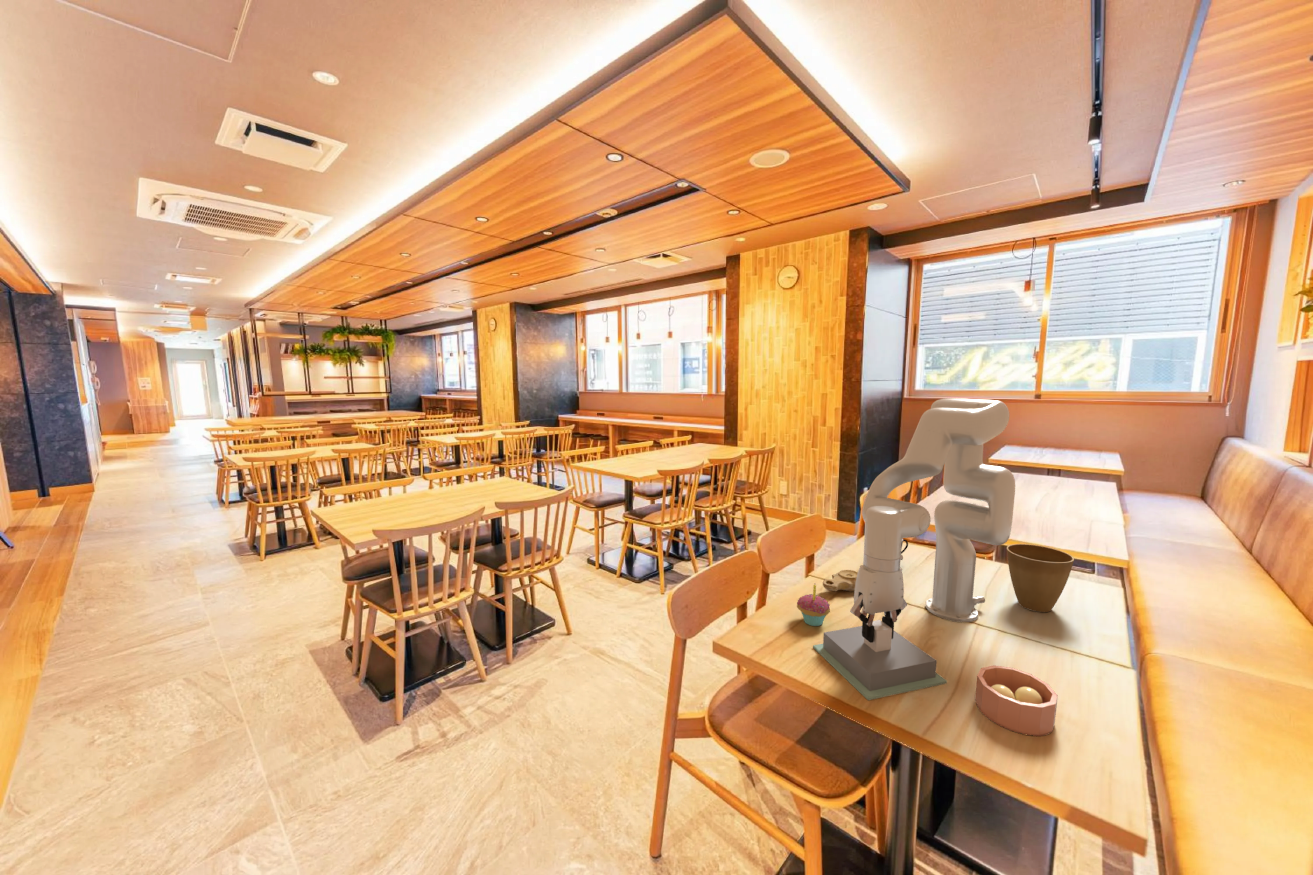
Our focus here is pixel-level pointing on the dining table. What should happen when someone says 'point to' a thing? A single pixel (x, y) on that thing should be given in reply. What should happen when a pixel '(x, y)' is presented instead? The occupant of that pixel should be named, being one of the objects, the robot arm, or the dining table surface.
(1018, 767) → the dining table surface
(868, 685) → the cover
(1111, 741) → the dining table surface
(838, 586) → the oil lamp
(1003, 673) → the bowl
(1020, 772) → the dining table surface
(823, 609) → the cupcake
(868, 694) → the mat
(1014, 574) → the plant pot
